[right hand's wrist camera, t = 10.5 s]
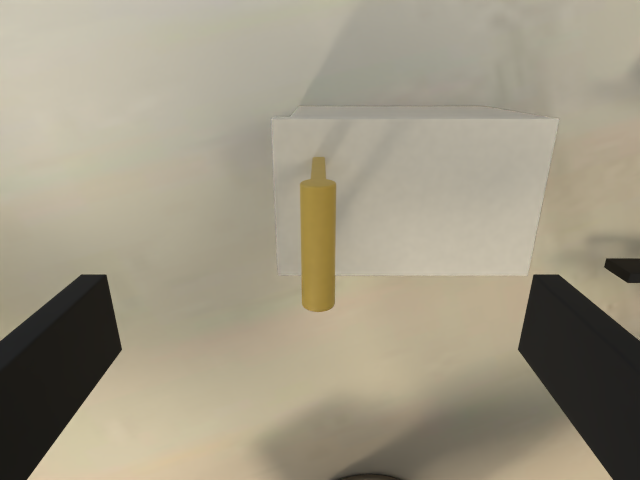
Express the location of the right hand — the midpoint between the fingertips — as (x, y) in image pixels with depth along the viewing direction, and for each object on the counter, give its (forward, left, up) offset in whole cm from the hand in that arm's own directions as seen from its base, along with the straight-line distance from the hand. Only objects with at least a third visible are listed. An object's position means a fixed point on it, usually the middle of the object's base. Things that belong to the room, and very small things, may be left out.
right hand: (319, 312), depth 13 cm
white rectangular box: (+3, -4, -13) cm, 14 cm away
